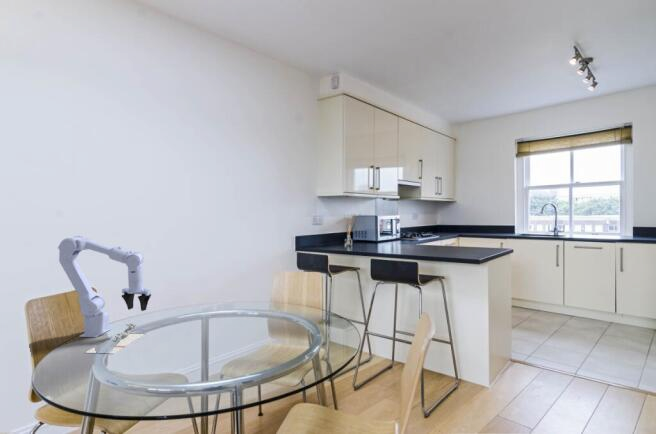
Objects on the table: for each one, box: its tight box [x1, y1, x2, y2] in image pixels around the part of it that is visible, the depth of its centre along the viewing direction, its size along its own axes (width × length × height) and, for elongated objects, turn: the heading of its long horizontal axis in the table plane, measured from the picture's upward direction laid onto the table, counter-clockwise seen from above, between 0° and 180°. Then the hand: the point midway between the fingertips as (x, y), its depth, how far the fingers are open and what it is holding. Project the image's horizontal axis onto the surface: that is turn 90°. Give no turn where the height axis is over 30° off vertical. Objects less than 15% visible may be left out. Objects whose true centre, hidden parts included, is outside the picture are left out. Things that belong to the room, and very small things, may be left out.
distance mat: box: [84, 332, 147, 355], centre depth 145 cm, size 20×12×1 cm, turn 174°
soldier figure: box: [112, 323, 137, 342], centre depth 150 cm, size 8×5×12 cm
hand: (137, 309), depth 158 cm, fingers open, 7 cm apart
